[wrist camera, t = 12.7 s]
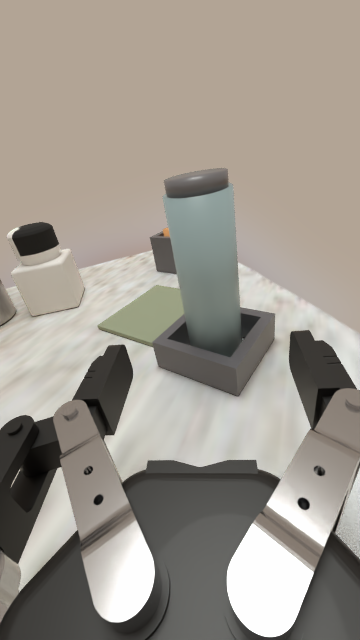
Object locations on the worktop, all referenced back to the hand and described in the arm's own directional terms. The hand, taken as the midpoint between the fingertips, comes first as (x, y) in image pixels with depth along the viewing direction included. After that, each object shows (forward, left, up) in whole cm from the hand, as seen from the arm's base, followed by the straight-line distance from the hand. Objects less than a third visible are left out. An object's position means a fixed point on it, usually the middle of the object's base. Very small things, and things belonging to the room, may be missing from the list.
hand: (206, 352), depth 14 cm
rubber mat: (-16, +14, -9) cm, 23 cm away
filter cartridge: (-6, +10, -9) cm, 15 cm away
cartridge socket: (-6, +10, -9) cm, 15 cm away
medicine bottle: (-35, +11, -9) cm, 37 cm away
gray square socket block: (-24, +28, -9) cm, 38 cm away
